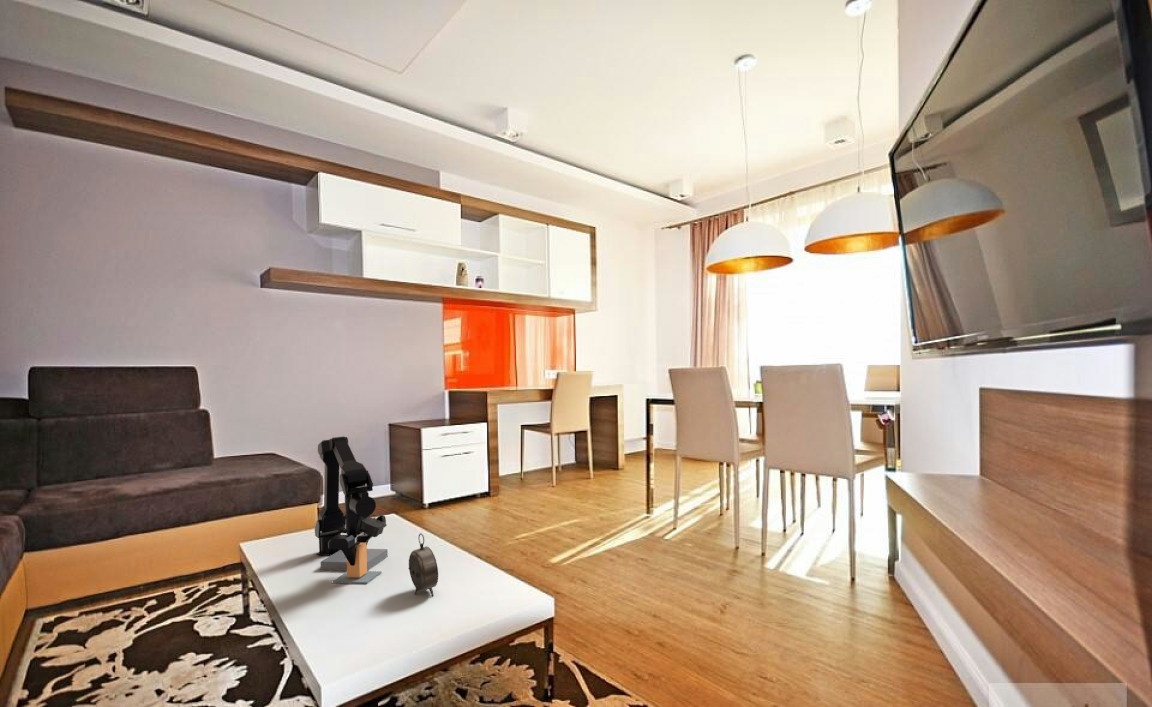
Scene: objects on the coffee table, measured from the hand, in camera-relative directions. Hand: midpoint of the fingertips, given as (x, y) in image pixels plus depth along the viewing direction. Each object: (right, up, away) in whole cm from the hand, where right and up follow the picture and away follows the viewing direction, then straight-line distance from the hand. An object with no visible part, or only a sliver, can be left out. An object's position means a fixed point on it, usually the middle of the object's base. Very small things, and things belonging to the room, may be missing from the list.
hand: (356, 562), depth 156 cm
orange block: (0, -4, 0) cm, 4 cm away
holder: (-6, -5, +12) cm, 15 cm away
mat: (0, -5, 0) cm, 4 cm away
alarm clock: (+24, -3, -13) cm, 27 cm away
